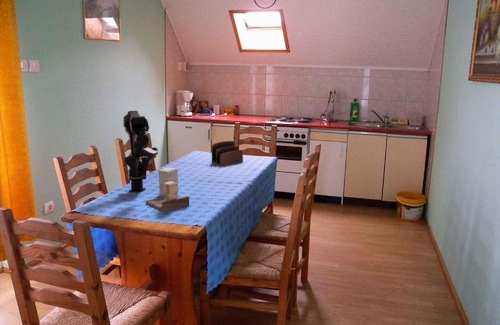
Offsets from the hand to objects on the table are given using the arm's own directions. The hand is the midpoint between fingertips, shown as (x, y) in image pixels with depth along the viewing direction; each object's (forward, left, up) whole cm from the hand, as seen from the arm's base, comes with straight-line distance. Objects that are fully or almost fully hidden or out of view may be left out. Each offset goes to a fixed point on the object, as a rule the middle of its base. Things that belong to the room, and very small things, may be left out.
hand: (140, 173), depth 209 cm
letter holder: (-89, +12, -13) cm, 91 cm away
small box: (-13, +8, -13) cm, 20 cm away
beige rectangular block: (+4, +18, -12) cm, 22 cm away
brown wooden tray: (+3, +15, -13) cm, 20 cm away
